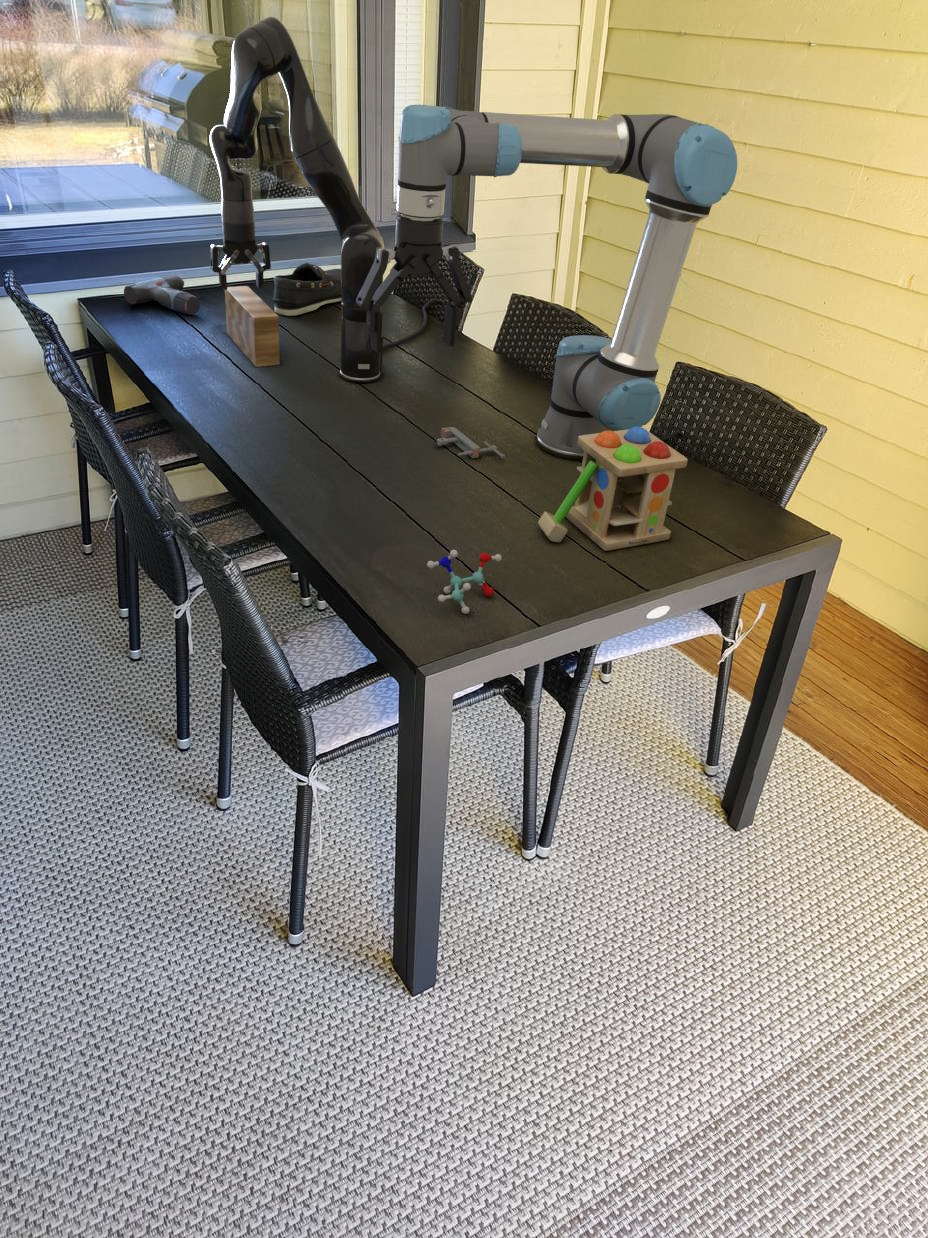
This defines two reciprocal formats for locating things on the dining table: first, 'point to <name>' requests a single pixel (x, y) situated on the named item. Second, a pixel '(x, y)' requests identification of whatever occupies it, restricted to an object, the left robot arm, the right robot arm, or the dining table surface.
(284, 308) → the boat shoe
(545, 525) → the pounding bench toy
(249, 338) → the box
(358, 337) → the left robot arm
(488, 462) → the dining table surface
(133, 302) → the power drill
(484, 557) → the molecular model
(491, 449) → the clamp
